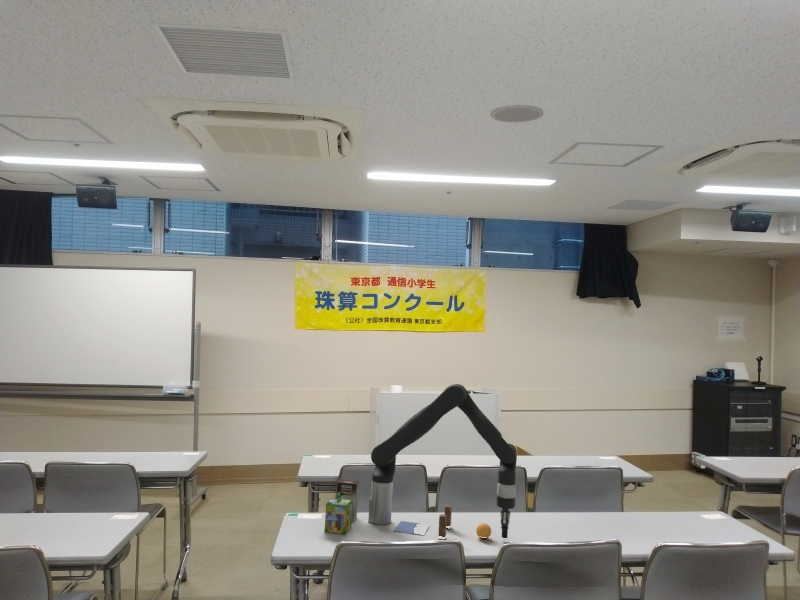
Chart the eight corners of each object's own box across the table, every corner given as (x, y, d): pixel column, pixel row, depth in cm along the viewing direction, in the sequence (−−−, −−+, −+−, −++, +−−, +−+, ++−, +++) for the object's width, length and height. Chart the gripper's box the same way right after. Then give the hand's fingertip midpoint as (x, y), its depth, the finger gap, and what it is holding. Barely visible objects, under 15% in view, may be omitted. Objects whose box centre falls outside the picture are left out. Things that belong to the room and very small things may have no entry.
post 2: (443, 528, 218) (444, 506, 218) (444, 526, 220) (445, 505, 221) (449, 529, 217) (450, 507, 218) (450, 527, 219) (451, 505, 220)
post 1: (438, 539, 205) (439, 516, 206) (439, 537, 208) (440, 514, 208) (444, 540, 204) (445, 517, 205) (445, 537, 207) (446, 515, 208)
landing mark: (393, 531, 211) (393, 530, 211) (401, 521, 224) (401, 520, 224) (423, 535, 208) (424, 535, 208) (430, 525, 220) (430, 525, 220)
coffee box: (333, 520, 221) (336, 482, 222) (337, 515, 227) (339, 478, 229) (354, 522, 220) (356, 483, 221) (357, 517, 226) (359, 480, 228)
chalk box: (345, 535, 204) (347, 497, 206) (323, 532, 206) (326, 495, 207) (352, 527, 213) (354, 491, 215) (331, 525, 215) (333, 489, 216)
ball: (475, 540, 206) (475, 524, 207) (476, 535, 212) (477, 520, 212) (490, 542, 204) (490, 527, 205) (491, 537, 210) (492, 522, 211)
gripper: (497, 489, 215) (496, 531, 214) (495, 497, 202) (493, 543, 201) (516, 491, 213) (514, 534, 212) (514, 500, 200) (513, 546, 199)
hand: (504, 538), depth 206 cm, fingers closed
